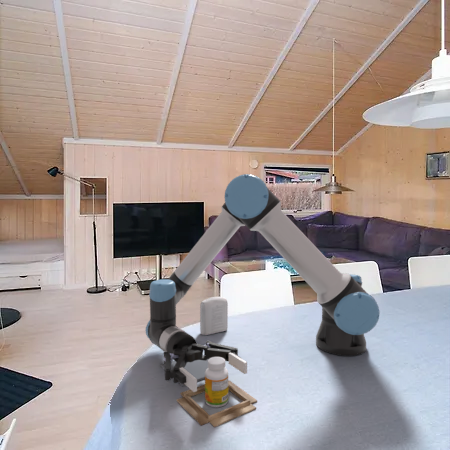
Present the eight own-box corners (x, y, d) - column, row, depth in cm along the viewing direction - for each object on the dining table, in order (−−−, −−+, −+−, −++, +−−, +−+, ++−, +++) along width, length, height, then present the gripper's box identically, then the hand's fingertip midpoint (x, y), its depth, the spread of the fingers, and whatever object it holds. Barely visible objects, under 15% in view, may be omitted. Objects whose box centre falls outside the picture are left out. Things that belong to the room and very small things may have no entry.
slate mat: (200, 354, 105) (200, 352, 105) (225, 371, 94) (225, 369, 94) (160, 366, 97) (160, 364, 97) (182, 386, 87) (182, 384, 87)
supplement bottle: (204, 395, 83) (204, 355, 82) (227, 394, 83) (227, 354, 82) (205, 408, 77) (205, 366, 77) (229, 407, 78) (229, 365, 77)
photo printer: (222, 327, 128) (222, 293, 127) (229, 330, 124) (229, 296, 123) (198, 333, 122) (198, 298, 121) (204, 336, 118) (204, 301, 118)
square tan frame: (224, 378, 91) (224, 374, 91) (262, 405, 78) (262, 401, 78) (172, 396, 82) (172, 392, 82) (206, 430, 70) (206, 426, 70)
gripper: (216, 347, 103) (264, 376, 85) (134, 370, 88) (171, 411, 71) (216, 322, 102) (264, 346, 85) (133, 341, 88) (170, 376, 70)
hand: (222, 376), depth 78 cm, fingers open, 13 cm apart
